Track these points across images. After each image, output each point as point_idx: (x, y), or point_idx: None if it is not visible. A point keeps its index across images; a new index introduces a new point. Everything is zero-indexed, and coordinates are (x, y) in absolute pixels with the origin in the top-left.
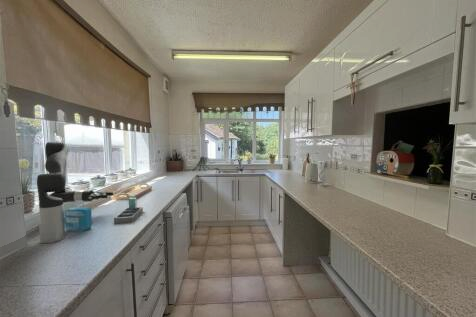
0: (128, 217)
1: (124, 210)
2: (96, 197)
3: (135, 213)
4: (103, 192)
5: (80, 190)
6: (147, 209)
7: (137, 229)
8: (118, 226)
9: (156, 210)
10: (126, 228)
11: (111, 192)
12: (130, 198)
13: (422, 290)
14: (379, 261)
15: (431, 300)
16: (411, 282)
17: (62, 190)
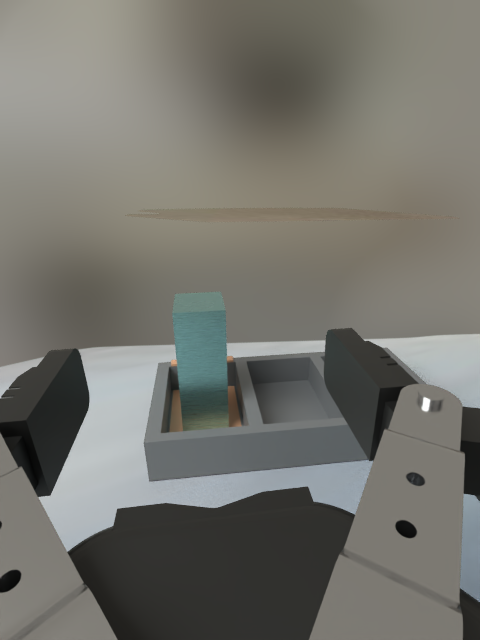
0: (398, 359)
1: (242, 427)
2: None
3: (314, 354)
4: (21, 478)
5: None
6: (105, 388)
7: (452, 341)
8: (476, 407)
9: (151, 352)
10: (472, 371)
11: (70, 359)
12: (208, 306)
13: (436, 218)
14: (395, 219)
15: (449, 218)
16: (426, 218)
17: None
